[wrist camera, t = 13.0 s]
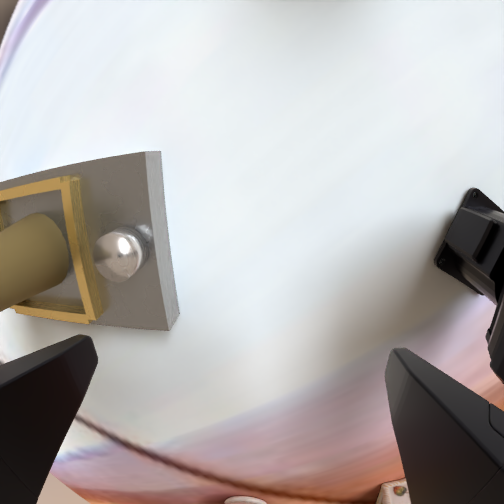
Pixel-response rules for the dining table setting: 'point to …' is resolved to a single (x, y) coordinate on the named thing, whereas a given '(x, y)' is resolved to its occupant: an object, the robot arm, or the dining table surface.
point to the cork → (31, 259)
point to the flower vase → (244, 500)
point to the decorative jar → (394, 493)
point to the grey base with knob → (102, 240)
